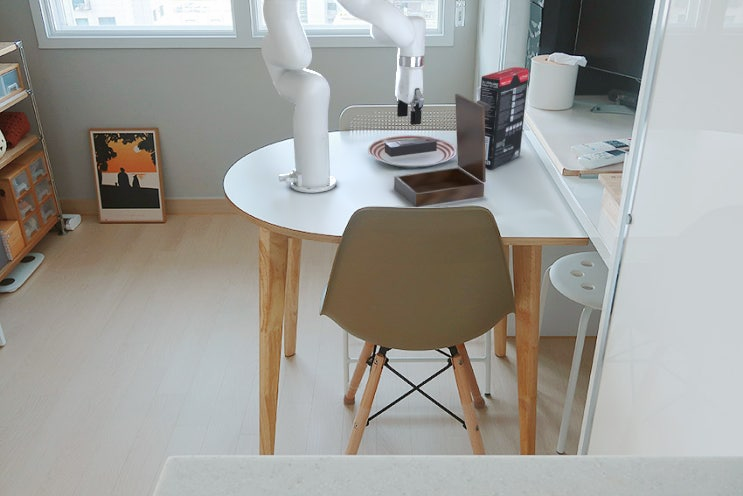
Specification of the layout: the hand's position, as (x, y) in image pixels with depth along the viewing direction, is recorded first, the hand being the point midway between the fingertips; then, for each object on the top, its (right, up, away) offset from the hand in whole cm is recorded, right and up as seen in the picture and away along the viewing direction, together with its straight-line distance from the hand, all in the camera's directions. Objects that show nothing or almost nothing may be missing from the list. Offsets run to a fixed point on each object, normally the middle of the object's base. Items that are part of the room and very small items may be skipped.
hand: (408, 120), depth 209 cm
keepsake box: (+7, -24, -19) cm, 31 cm away
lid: (+15, -9, -23) cm, 28 cm away
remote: (+1, -9, +5) cm, 10 cm away
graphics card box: (+28, -12, +6) cm, 31 cm away
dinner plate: (+1, -10, +9) cm, 14 cm away
